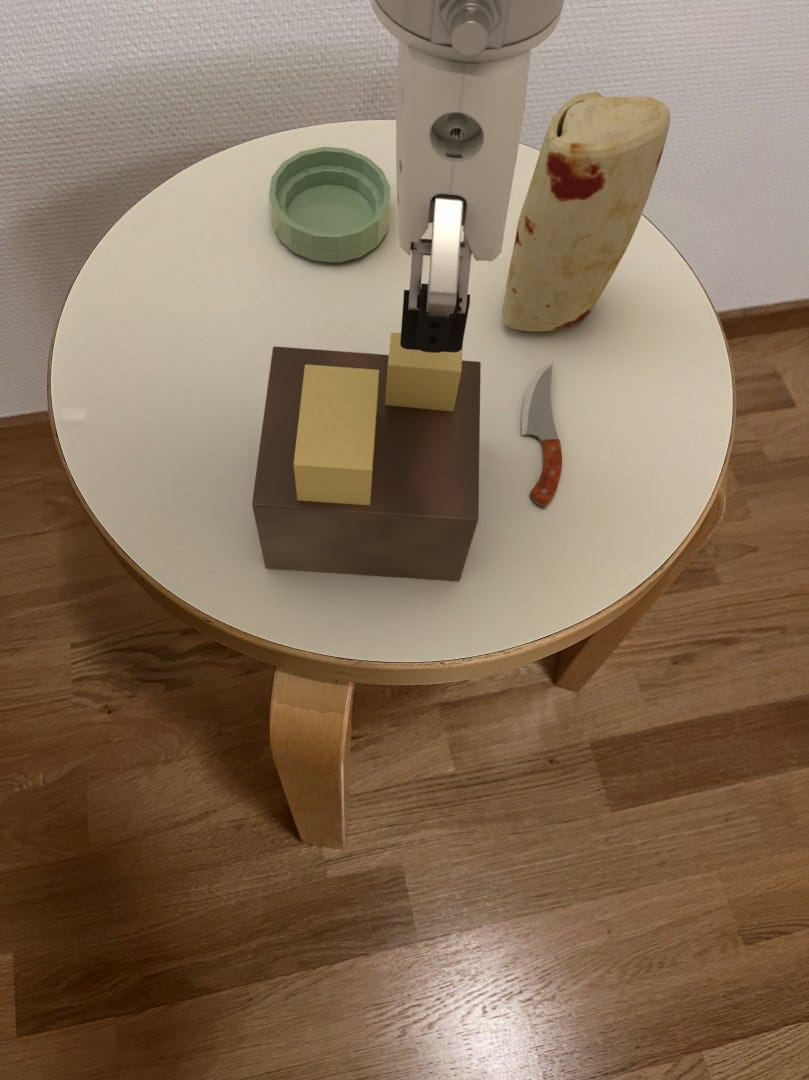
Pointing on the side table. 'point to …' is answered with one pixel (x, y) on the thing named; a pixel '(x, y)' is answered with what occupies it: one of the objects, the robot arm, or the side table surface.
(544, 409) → the knife
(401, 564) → the chopping block
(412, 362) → the butter slice
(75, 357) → the side table surface
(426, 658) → the side table surface
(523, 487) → the side table surface
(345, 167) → the dish
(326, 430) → the butter
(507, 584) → the side table surface
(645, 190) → the food model
